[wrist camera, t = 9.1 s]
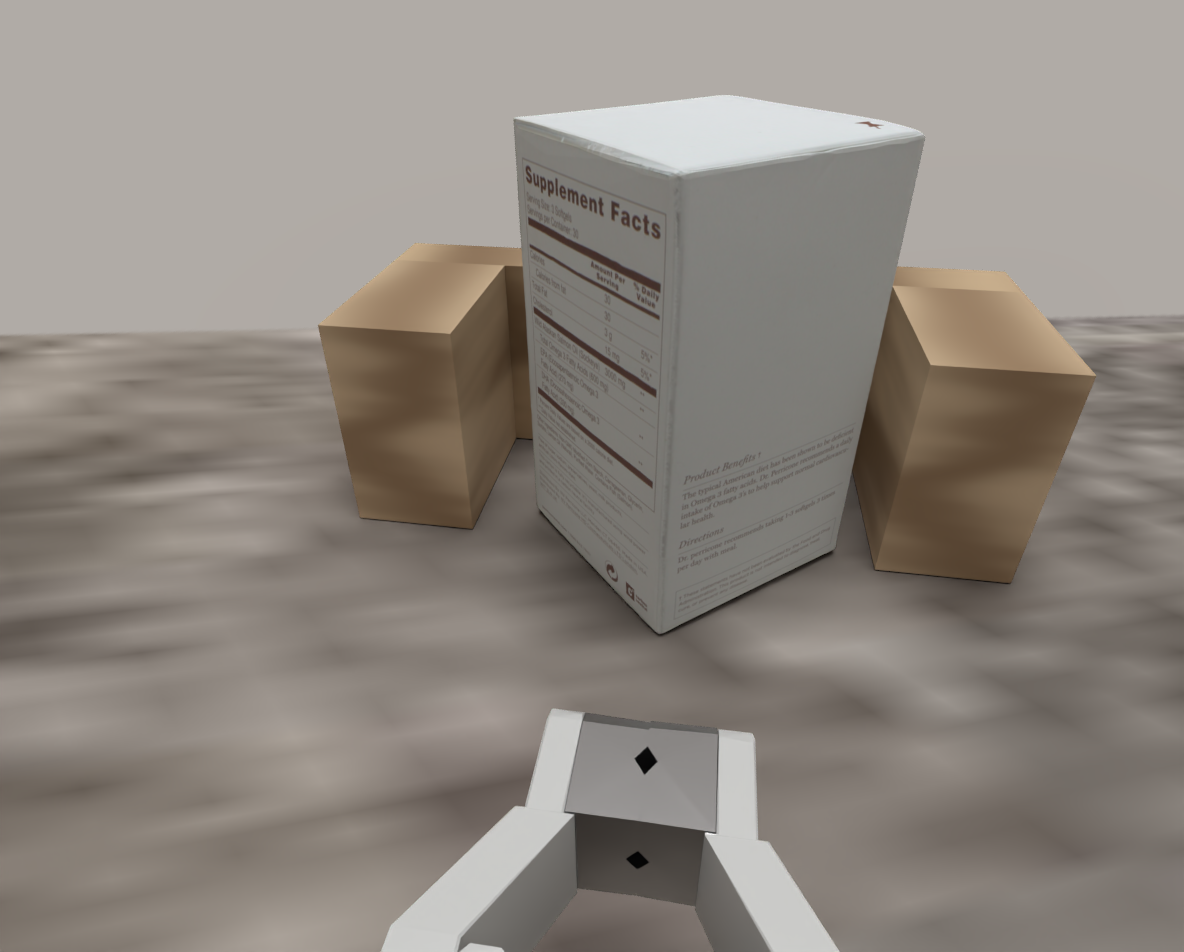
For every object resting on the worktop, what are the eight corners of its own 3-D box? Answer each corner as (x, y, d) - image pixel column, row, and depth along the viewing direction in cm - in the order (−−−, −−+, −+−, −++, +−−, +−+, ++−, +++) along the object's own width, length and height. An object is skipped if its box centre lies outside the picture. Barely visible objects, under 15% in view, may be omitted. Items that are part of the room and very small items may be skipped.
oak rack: (360, 517, 26) (318, 324, 22) (437, 406, 32) (415, 243, 28) (1010, 583, 23) (1096, 376, 19) (950, 446, 29) (1004, 271, 26)
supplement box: (697, 450, 29) (730, 89, 22) (840, 555, 24) (942, 125, 17) (529, 509, 26) (505, 110, 19) (652, 644, 21) (681, 161, 14)
